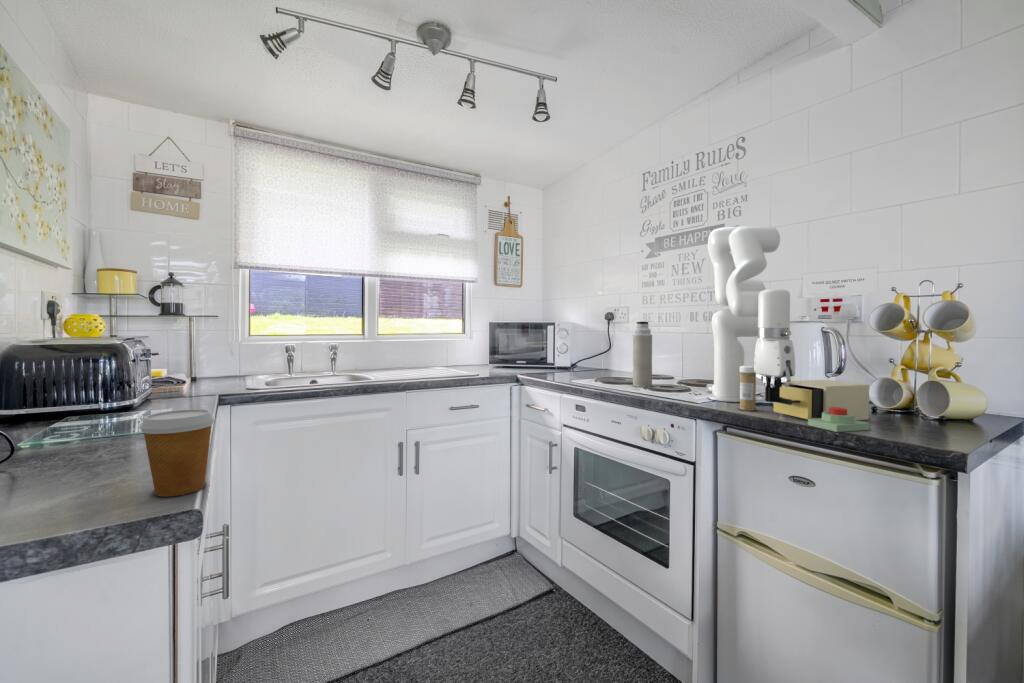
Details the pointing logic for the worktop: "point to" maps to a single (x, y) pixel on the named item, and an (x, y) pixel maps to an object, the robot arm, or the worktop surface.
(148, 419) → the disposable coffee cup
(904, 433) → the worktop surface
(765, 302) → the robot arm
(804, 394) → the yellow drawer
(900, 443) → the worktop surface
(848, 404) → the drawer cabinet
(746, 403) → the sprinkles bottle
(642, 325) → the thermos bottle
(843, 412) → the button
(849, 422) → the control block
